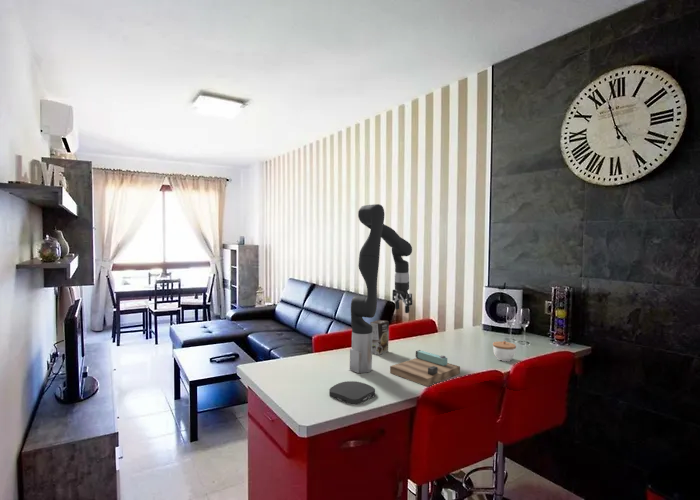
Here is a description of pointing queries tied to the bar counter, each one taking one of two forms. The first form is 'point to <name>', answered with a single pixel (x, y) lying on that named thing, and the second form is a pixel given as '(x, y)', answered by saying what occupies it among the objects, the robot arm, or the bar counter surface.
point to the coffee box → (380, 336)
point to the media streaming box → (352, 392)
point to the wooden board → (424, 371)
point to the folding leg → (431, 357)
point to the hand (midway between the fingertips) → (402, 311)
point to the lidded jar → (504, 350)
